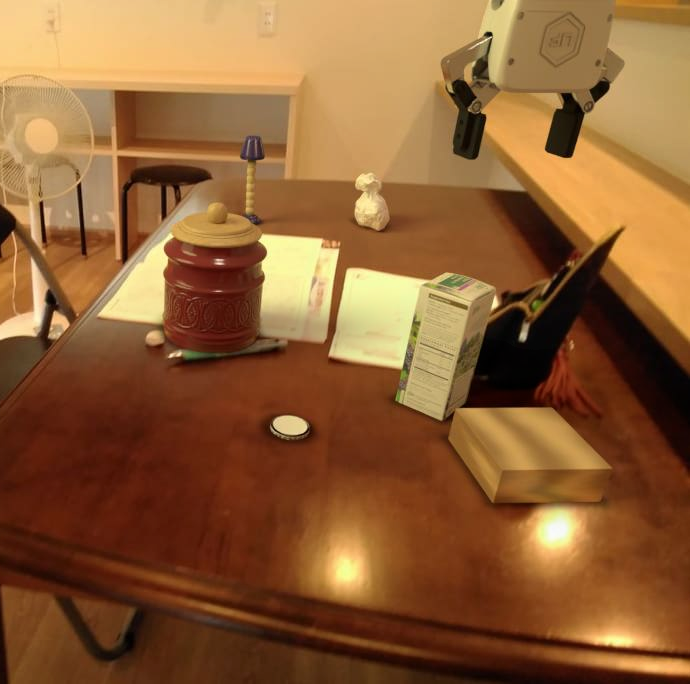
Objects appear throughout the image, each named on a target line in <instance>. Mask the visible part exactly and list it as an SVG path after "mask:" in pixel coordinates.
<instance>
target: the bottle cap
mask: <svg viewBox="0 0 690 684" xmlns="http://www.w3.org/2000/svg"><path fill="white" fill-rule="evenodd" d="M269 426H270V427H269V428H270V431H271V433H272V434H273V435H275V436H276V437H278V438H281V439H283V440H287V441H297V440H298V441H300V440H302V439H305V438H306V437H307V436H308V435H309V434H310V430H311V429H310V425H309V423H308V421H306V420H305V419H303V418H301V417H299V416H297V415H292V414H283V415H282V414H281V415H277V416H275V417H274V418H272V420H271V421H270V425H269ZM273 428H274V429H275V430H276V431H275V430H274V429H273ZM307 430H308V431H307ZM306 431H307V433H305V432H306ZM304 433H305V434H304ZM302 434H303V435H302Z"/></svg>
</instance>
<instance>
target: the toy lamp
mask: <svg viewBox="0 0 690 684" xmlns="http://www.w3.org/2000/svg"><path fill="white" fill-rule="evenodd" d="M265 155H266V154H265V149H264V145H263V140H262V137H261V136H259V135H246V136H245V138H244V139H243V143H242V147H241V150H240V155H239V158H240V159H241V160H242V161H247V169H246V174H247V176H246V186H245V188H246V193H245V197H246V200H245V206H246V207H245V213H243V214H242V215H241V216H243V217H245V218H247V219H248V220H249V221H250V222H251V223H252V224H254V225H255V226H258V225H260V223H261V220H260V218H259V216H258V215H256V214H255V202H256V201H255V197H256V193H255V191H256V173H257V169H256V166H257V161H263V160H264V159H265Z"/></svg>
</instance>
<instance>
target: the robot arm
mask: <svg viewBox="0 0 690 684" xmlns="http://www.w3.org/2000/svg"><path fill="white" fill-rule="evenodd" d="M616 2H617V0H488V2H487V4H486V7H485V11H484V14H483V17H482V21H481V24H480V28H479V31H478V36H477V39H476V40H473V41H472V42H470V43H468V44H466V45H463V46H462V47H460V48H458V49H456V50H454V51H452V52H451V53H449V54H447V55H445V56H444V57H443V58H442V59H441V60H440V68H441V72H442V76H443V80H444V82H445V86H444V87H445V91H446V92H447V94H448V95H449V97H450V98H451V100H452V101H453V107H454V108H455V109H456V110H458V112H457V118H456V122H455V128H454V133H453V137H452V146H453V148H452V154H453V155H456V156H458V157H460V158H463V159H466V160H468V161H473V160H476V159H478V157H479V154H480V150H481V145H482V142H483V136H484V131H485V128H486V123H487V114H486V113H482V111H483V110H484V109H485V108H486V106H488V105H489V103H490V102H491V101H492V100H493V99H494V98H495V97H496V96H497V95H498V94H499V93H500V92H501V91H503V92H507V93H514V94H556V95H557V97H558V99H559V101H560V104H561V106H562V107H561V108H556V109H555V111H554V112H553V115H552V119H551V123H550V127H549V131H548V134H547V137H546V141H545V146H544V151H545V152H546V153H548V154H551V155H553V156H555V157H560V158H563V159H571V158H573V156H574V153H575V151H576V145H577V143H578V140H579V136H580V132H581V129H582V126H583V122H584V119H585V115H586V114H590V113H592V112H593V111H594V109H595V107H596V106H595V105H596V103H597V102H599V101H600V100H601V99H602V98H603V97H604V96H605V95H607V93H609V91H610V89H611V84H614V81H615V80H616V79H617V77H618V76H619V75H620V73H621V72H622V70H623V69H624V67H625V65H626V63H625V60H624V59H623V58H621V57H620V56H619V54H616V53H615V52H614V51H613V50H612V49H610V48H609V47H608V46H609V42H610V37H611V33H612V32H611V31H612V27H613V22H614V16H615V10H616ZM470 64H471V69H470V70H471V71H470V78H471V81H470V83H468V82H467V80H465V68H466V67H467V66H468V65H470Z"/></svg>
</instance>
